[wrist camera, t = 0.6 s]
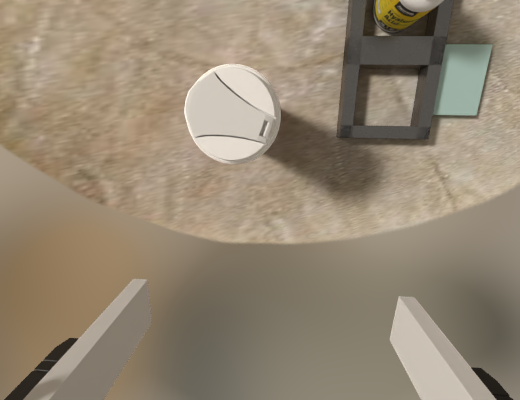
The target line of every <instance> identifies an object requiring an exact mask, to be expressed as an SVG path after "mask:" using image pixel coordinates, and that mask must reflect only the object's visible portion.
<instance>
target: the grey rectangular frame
mask: <svg viewBox="0 0 520 400" xmlns="http://www.w3.org/2000/svg"><path fill="white" fill-rule="evenodd" d="M366 1H367V0H349V6H348V17H347V27H346V38H345V49H344V60H343V70H342V81H341V92H340V103H339V113H338V124H337V135H336V137H343V138H392V139H428V138H429V132H430V127H431V122H432V116H433V111H434V105H435V100H436V94H437V89H438V84H439V78H440V73H441V67H442V62H443V56H444V51H445V46H446V40H447V35H448V29H449V24H450V18H451V13H452V8H453V2H454V0H444V1H443V2H442V3H440V4H439V5H438V6H437V7H435V8H434V9H432V10H431V11H430V12H429V16H428V22H427V28H426V34H425V36H363V28H364V19H365V10H366ZM359 68H419V69H420V71H419V77H418V83H417V89H416V95H415V101H414V107H413V113H412V119H411V125H410V127H409V126H354V125H353V121H354V111H355V102H356V93H357V84H358V74H359Z"/></svg>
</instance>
